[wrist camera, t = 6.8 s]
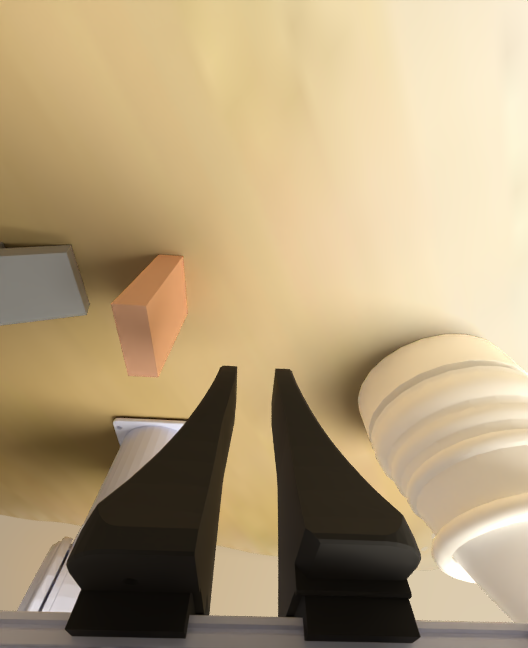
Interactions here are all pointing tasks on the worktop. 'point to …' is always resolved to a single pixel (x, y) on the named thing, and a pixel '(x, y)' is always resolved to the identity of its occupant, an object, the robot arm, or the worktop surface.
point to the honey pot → (459, 455)
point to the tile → (151, 315)
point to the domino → (40, 284)
